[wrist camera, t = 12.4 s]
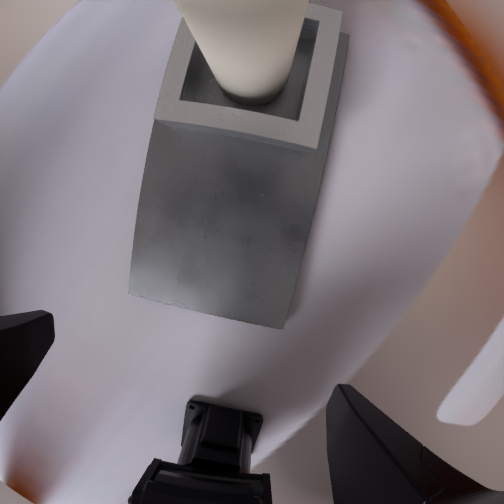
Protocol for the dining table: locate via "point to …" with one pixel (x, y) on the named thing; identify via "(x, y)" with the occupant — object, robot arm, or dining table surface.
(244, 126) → the socket
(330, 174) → the dining table surface
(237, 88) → the peg
